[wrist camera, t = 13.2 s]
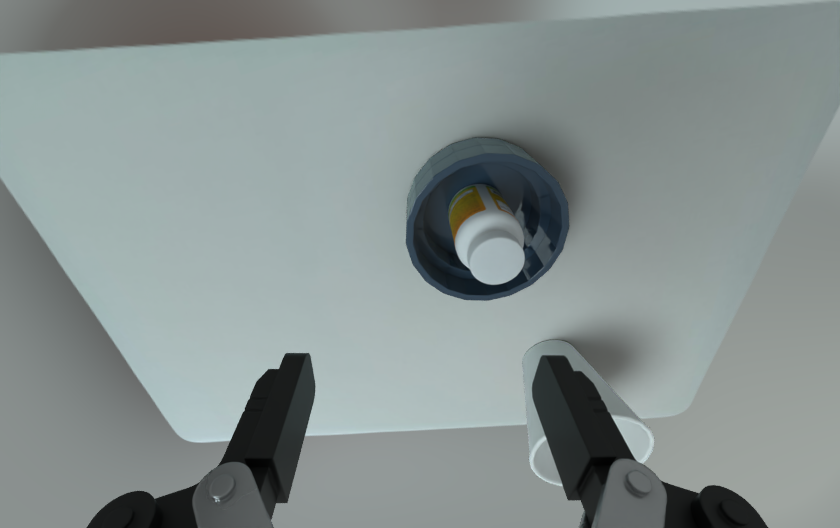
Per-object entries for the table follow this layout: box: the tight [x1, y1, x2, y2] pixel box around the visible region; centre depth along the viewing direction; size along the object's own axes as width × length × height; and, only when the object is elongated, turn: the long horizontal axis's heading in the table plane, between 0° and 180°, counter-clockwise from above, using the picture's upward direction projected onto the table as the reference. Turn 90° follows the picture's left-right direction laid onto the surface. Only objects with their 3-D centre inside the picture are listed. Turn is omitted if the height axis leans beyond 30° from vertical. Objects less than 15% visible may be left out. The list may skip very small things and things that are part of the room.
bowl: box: [406, 138, 569, 301], centre depth 32 cm, size 13×13×6 cm
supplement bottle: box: [448, 184, 525, 285], centre depth 30 cm, size 5×5×10 cm
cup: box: [522, 340, 654, 486], centre depth 40 cm, size 12×12×12 cm
